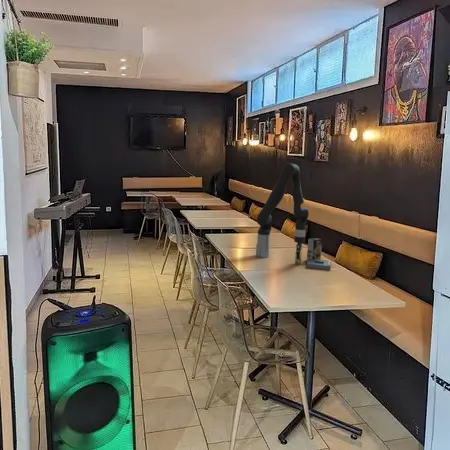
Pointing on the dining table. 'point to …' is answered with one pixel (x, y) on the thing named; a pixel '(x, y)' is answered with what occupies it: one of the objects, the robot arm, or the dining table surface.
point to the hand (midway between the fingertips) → (298, 257)
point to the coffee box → (314, 248)
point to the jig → (319, 264)
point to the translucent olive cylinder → (298, 261)
